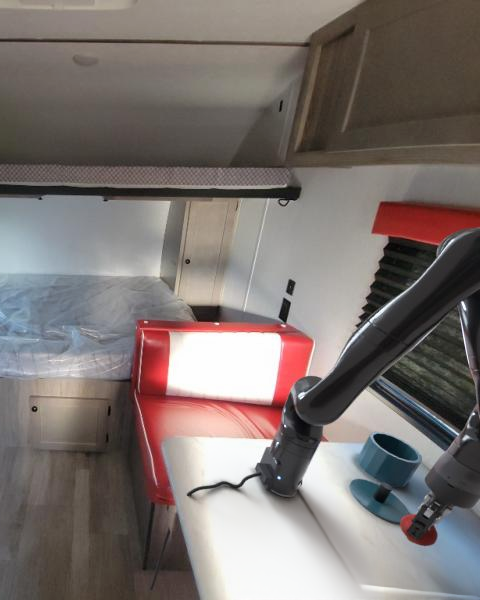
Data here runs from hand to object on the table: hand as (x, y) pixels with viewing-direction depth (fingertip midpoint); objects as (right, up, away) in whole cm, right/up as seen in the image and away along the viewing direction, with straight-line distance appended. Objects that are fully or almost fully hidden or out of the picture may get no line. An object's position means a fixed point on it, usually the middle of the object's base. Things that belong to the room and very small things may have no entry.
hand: (418, 530), depth 75 cm
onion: (0, -4, +1) cm, 4 cm away
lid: (+4, -2, +15) cm, 16 cm away
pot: (+14, 0, +25) cm, 29 cm away
